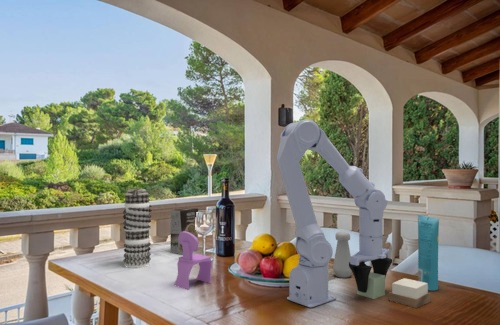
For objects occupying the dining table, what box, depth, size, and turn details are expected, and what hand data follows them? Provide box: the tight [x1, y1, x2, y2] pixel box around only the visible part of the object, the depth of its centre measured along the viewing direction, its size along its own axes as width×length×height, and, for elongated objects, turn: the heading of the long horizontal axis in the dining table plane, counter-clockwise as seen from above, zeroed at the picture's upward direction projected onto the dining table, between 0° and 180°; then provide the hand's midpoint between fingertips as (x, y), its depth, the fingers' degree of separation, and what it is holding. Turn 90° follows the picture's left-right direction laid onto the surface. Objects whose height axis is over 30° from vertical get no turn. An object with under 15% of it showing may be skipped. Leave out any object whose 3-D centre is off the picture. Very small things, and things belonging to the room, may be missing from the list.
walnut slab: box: [388, 291, 432, 309], centre depth 100 cm, size 7×7×2 cm
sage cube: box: [356, 271, 386, 300], centre depth 105 cm, size 5×5×5 cm
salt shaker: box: [332, 231, 353, 279], centre depth 121 cm, size 6×6×13 cm
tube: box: [417, 214, 440, 291], centre depth 109 cm, size 7×5×19 cm, turn 26°
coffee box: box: [170, 207, 199, 255], centre depth 155 cm, size 9×6×16 cm
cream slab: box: [391, 277, 429, 299], centre depth 99 cm, size 6×6×2 cm
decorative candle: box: [122, 188, 153, 268], centre depth 135 cm, size 9×9×25 cm
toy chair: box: [173, 231, 213, 291], centre depth 114 cm, size 8×9×15 cm
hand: (370, 288), depth 105 cm, fingers open, 7 cm apart
